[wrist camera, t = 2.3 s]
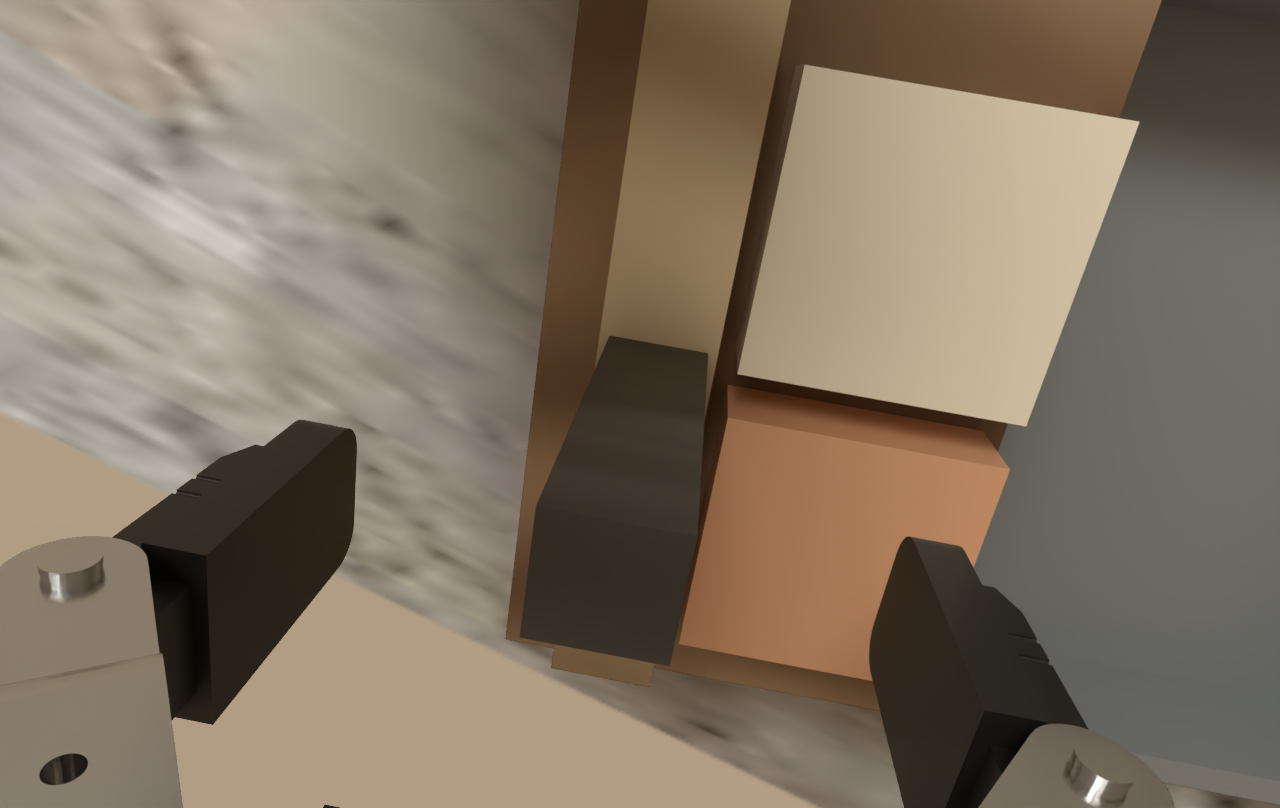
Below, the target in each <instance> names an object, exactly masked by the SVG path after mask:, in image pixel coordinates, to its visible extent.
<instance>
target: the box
mask: <svg viewBox="0 0 1280 808" xmlns="http://www.w3.org/2000/svg"><path fill="white" fill-rule="evenodd" d="M1119 118H1121V119H1127V120H1133V121H1139V125H1138V128H1137V130H1136V133H1135V136H1134V139H1133V141H1132V144H1131V147H1130V149H1129V152H1128V155H1127V157H1126V160H1125V163H1124V165H1123V168H1122V171H1121V173H1120V176H1119V179H1118V181H1117V184H1116V187H1115V190H1114V192H1113V195H1112V198H1111V200H1110V203H1109V206H1108V208H1107V211H1106V214H1105V216H1104V219H1103V222H1102V224H1101V227H1100V230H1099V232H1098V235H1097V238H1096V240H1095V243H1094V246H1093V249H1092V251H1091V254H1090V257H1089V259H1088V262H1087V265H1086V267H1085V270H1084V273H1083V275H1082V278H1081V281H1080V283H1079V286H1078V289H1077V291H1076V294H1075V297H1074V299H1073V302H1072V305H1071V308H1070V310H1069V313H1068V316H1067V318H1066V321H1065V324H1064V326H1063V329H1062V332H1061V334H1060V337H1059V340H1058V342H1057V345H1056V348H1055V350H1054V353H1053V356H1052V358H1051V361H1050V364H1049V367H1048V369H1047V372H1046V375H1045V377H1044V380H1043V383H1042V385H1041V388H1040V391H1039V393H1038V396H1037V399H1036V401H1035V404H1034V407H1033V409H1032V412H1031V415H1030V418H1029V420H1028V423H1027V426H1021V425H1015V424H1010V423H1008V425H1007V428H1006V431H1005V434H1004V436H1003V439H1002V442H1001V445H1000V447H999V450H998V453H999V455H1000V456H1001V457H1002V459H1003V460H1004V462H1005V463H1006V464H1007V466H1008V467H1009V469H1010V471H1009V474H1008V477H1007V479H1006V482H1005V485H1004V487H1003V490H1002V493H1001V495H1000V498H999V501H998V503H997V506H996V509H995V511H994V514H993V517H992V519H991V522H990V525H989V527H988V530H987V533H986V536H985V538H984V541H983V544H982V546H981V549H980V552H979V554H978V557H977V560H976V562H975V565H974V570H975V572H976V574H977V576H978V577H979V579H980V581H981V583H982V585H984V586H989V587H995V588H996V589H997V590H998V591H999V592H1000V593H1001V594H1003V595H1004V596H1005V597H1006V598H1007V599H1008V600H1009V601H1010V602H1011V603H1012V604H1014V605H1015V606H1016V607H1017V608H1018V609H1019V610H1020V611H1021V612H1022V613H1023V615H1024V616H1025V618H1026V620H1027V622H1028V623H1029V625H1030V627H1031V629H1032V630H1033V632H1034V634H1035V636H1036V637H1037V643H1039V644H1041V646H1042V648H1043V650H1044V652H1045V653H1046V655H1047V657H1048V659H1049V665H1052V666H1053V667H1054V669H1055V671H1056V673H1057V674H1058V676H1059V678H1060V680H1061V681H1062V683H1063V685H1064V687H1065V689H1066V690H1067V692H1068V694H1069V696H1070V697H1071V699H1072V701H1073V703H1074V704H1075V706H1076V708H1077V710H1078V711H1079V713H1080V715H1081V717H1082V719H1083V720H1084V722H1085V724H1086V726H1087V727H1088V729H1089V730H1091V731H1094V732H1096V733H1098V734H1101V735H1103V736H1105V737H1107V738H1109V739H1111V740H1113V741H1115V742H1117V743H1118V744H1120V745H1121V746H1123V747H1125V748H1126V749H1128V750H1129V751H1131V752H1132V753H1133V754H1135V755H1136V756H1137V757H1139V758H1140V759H1141V760H1142V761H1143V762H1145V763H1146V764H1147V765H1148V766H1149V767H1150V768H1151V769H1152V770H1153V771H1154V772H1155V773H1156V774H1157V775H1158V776H1159V778H1160V779H1161V780H1162V782H1163V783H1168V784H1174V785H1179V786H1184V787H1189V788H1194V789H1200V790H1205V791H1210V792H1215V793H1220V794H1226V795H1231V796H1236V797H1241V798H1246V799H1252V800H1257V801H1262V802H1267V803H1272V804H1278V805H1280V0H1162V1H1161V4H1160V7H1159V9H1158V12H1157V15H1156V18H1155V20H1154V23H1153V26H1152V29H1151V31H1150V34H1149V37H1148V40H1147V42H1146V45H1145V48H1144V51H1143V53H1142V56H1141V59H1140V62H1139V64H1138V67H1137V70H1136V73H1135V75H1134V78H1133V81H1132V84H1131V86H1130V89H1129V92H1128V95H1127V97H1126V100H1125V103H1124V106H1123V108H1122V111H1121V114H1120V117H1119Z"/></svg>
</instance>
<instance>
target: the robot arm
mask: <svg viewBox="0 0 1280 808" xmlns="http://www.w3.org/2000/svg"><path fill="white" fill-rule="evenodd" d="M356 455H357V442H356V436H355V434H354V432H353V430H351V429H348V428H343V427H337V426H332V425H327V424H322V423H316V422H311V421H306V420H298V421H296V422H294V423H293V424H292V425H290V426H289V427H288V428H287V429H285V430H284V431H283V432H282V433H280V434H279V435H278V436H276V437H275V438H274V439H273V440H271V441H270V442H269V443H267V444H266V445H265V446H259V445H254V446H251V447H248V448H245V449H243V450H240V451H237V452H234V453H231V454H229V455H226V456H223V457H221V458H219V459H218V460H217V461H215V462H214V463H212V464H211V465H210V466H208V467H207V468H206V469H204V470H203V471H202V472H200V473H199V474H198V475H197V477H196V479H191V480H189V481H188V482H187V483H185V484H184V485H183V486H181V487H180V488H179V489H177V493H176V494H170V495H169V496H168V497H166V498H165V499H164V500H163V501H161V502H160V503H158V504H157V505H156V506H154V507H153V508H151V509H150V510H149V511H148V512H146V513H145V514H143V515H142V516H141V517H139V518H138V519H137V520H135V521H134V522H133V523H131V524H130V525H128V526H127V527H126V528H124V529H123V530H122V531H120V532H119V533H118V534H116V535H115V536H114V537H112V538H111V537H99V536H88V537H87V536H86V537H75V538H67V539H61V540H57V541H53V542H49V543H45V544H42V545H39V546H36V547H33V548H31V549H28V550H26V551H24V552H21V553H20V554H18V555H16V556H14V557H12V558H11V559H9V560H8V561H6V562H5V563H4V564H2V565H1V567H0V808H183V804H182V796H181V789H180V782H179V774H178V766H177V759H176V751H175V743H174V735H173V728H172V720H173V718H174V717H177V718H182V719H187V720H192V721H198V722H202V723H207V724H212V725H213V724H214V723H215V721H216V720H217V719H218V717H219V716H220V715H221V714H222V713H223V711H224V710H225V709H226V708H227V706H228V705H229V704H230V703H231V701H232V700H233V699H234V698H235V696H236V695H237V694H238V692H239V691H240V690H241V689H242V687H243V686H244V685H245V684H246V683H247V681H248V680H249V679H250V678H251V676H252V675H253V674H254V673H255V671H256V670H257V669H258V668H259V666H260V665H261V664H262V663H263V661H264V660H265V659H266V658H267V656H268V655H269V654H270V652H271V651H272V650H273V649H274V648H275V646H276V645H277V644H278V643H279V641H280V640H281V639H282V638H283V636H284V635H285V634H286V633H287V631H288V630H289V629H290V628H291V626H292V625H293V624H294V623H295V621H296V620H297V619H298V618H299V616H300V615H301V614H302V613H303V611H304V610H305V609H306V608H307V606H308V605H309V604H310V603H311V601H312V600H313V599H314V598H315V596H316V595H317V594H318V592H319V591H320V590H321V589H322V587H323V586H324V585H325V584H326V582H327V581H328V580H329V579H330V578H331V576H332V575H333V574H334V573H335V571H336V570H337V569H338V568H339V566H340V565H341V563H342V562H343V560H344V558H345V556H346V553H347V551H348V548H349V545H350V542H351V538H352V533H353V527H354V508H355V481H356ZM869 666H870V672H871V676H872V680H873V684H874V688H875V692H876V696H877V700H878V704H879V708H880V712H881V716H882V720H883V724H884V728H885V732H886V736H887V740H888V744H889V748H890V752H891V756H892V760H893V764H894V768H895V772H896V776H897V780H898V784H899V788H900V792H901V796H902V800H903V804H904V808H1174V802H1173V800H1172V797H1171V794H1170V793H1169V791H1168V789H1167V787H1166V786H1165V784H1164V783H1163V782H1162V780H1161V779H1160V778H1159V776H1158V775H1157V774H1156V773H1155V772H1154V771H1153V770H1152V769H1151V768H1150V767H1149V766H1148V765H1147V764H1146V763H1145V762H1143V761H1142V760H1141V759H1140V758H1139V757H1137V756H1136V755H1135V754H1133V753H1132V752H1131V751H1129V750H1128V749H1126V748H1125V747H1123V746H1121V745H1120V744H1118V743H1117V742H1115V741H1113V740H1111V739H1109V738H1107V737H1105V736H1103V735H1101V734H1098V733H1096V732H1094V731H1091V730H1089V729H1088V727H1087V726H1086V724H1085V722H1084V720H1083V719H1082V717H1081V715H1080V713H1079V711H1078V710H1077V708H1076V706H1075V704H1074V703H1073V701H1072V699H1071V697H1070V696H1069V694H1068V692H1067V690H1066V689H1065V687H1064V685H1063V683H1062V681H1061V680H1060V678H1059V676H1058V674H1057V673H1056V671H1055V669H1054V667H1053V666H1052V665H1049V659H1048V657H1047V655H1046V653H1045V652H1044V650H1043V648H1042V646H1041V644H1039V643H1037V637H1036V636H1035V634H1034V632H1033V630H1032V629H1031V627H1030V625H1029V623H1028V622H1027V620H1026V618H1025V616H1024V615H1023V613H1022V612H1021V611H1020V610H1019V609H1018V608H1017V607H1016V606H1015V605H1014V604H1012V603H1011V602H1010V601H1009V600H1008V599H1007V598H1006V597H1005V596H1004V595H1003V594H1001V593H1000V592H999V591H998V590H997V589H996V588H995V587H989V586H984V585H982V583H981V581H980V579H979V577H978V576H977V574H976V572H975V570H974V568H973V566H972V564H971V562H970V560H969V558H968V556H967V554H966V552H965V551H964V549H963V548H962V547H961V546H957V545H952V544H947V543H942V542H936V541H931V540H926V539H921V538H915V537H910V536H908V537H906V538H904V540H903V541H902V542H901V544H900V546H899V548H898V551H897V554H896V557H895V560H894V563H893V566H892V569H891V572H890V575H889V578H888V581H887V584H886V588H885V591H884V594H883V597H882V600H881V603H880V606H879V609H878V612H877V615H876V618H875V621H874V625H873V628H872V633H871V638H870V646H869ZM323 808H339V807H334V806H329V805H324V807H323Z"/></svg>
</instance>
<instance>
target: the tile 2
mask: <svg viewBox="0 0 1280 808" xmlns="http://www.w3.org/2000/svg"><path fill="white" fill-rule="evenodd" d="M1138 125H1139V121H1133V120H1127V119H1121V118H1115V117H1109V116H1103V115H1097V114H1092V113H1086V112H1080V111H1074V110H1068V109H1062V108H1056V107H1051V106H1045V105H1039V104H1033V103H1027V102H1021V101H1015V100H1009V99H1004V98H998V97H992V96H986V95H980V94H974V93H968V92H963V91H957V90H951V89H945V88H939V87H933V86H927V85H921V84H916V83H910V82H904V81H898V80H892V79H886V78H880V77H874V76H869V75H863V74H857V73H851V72H845V71H839V70H833V69H828V68H822V67H816V66H810V65H796V67H795V71H794V76H793V81H792V85H791V90H790V95H789V99H788V104H787V109H786V114H785V118H784V123H783V128H782V132H781V137H780V142H779V146H778V151H777V156H776V160H775V165H774V170H773V174H772V179H771V184H770V188H769V193H768V198H767V202H766V207H765V212H764V216H763V221H762V226H761V230H760V235H759V240H758V245H757V249H756V254H755V259H754V263H753V268H752V273H751V277H750V282H749V287H748V291H747V296H746V301H745V305H744V310H743V315H742V319H741V324H740V329H739V333H738V338H737V343H736V353H737V374H739V375H745V376H750V377H756V378H761V379H767V380H772V381H778V382H783V383H789V384H794V385H800V386H806V387H811V388H817V389H822V390H828V391H833V392H839V393H844V394H850V395H855V396H861V397H866V398H872V399H877V400H883V401H888V402H894V403H899V404H905V405H910V406H916V407H921V408H927V409H932V410H938V411H943V412H949V413H954V414H960V415H965V416H971V417H976V418H982V419H988V420H993V421H999V422H1004V423H1010V424H1015V425H1021V426H1027V423H1028V420H1029V418H1030V415H1031V412H1032V409H1033V407H1034V404H1035V401H1036V399H1037V396H1038V393H1039V391H1040V388H1041V385H1042V383H1043V380H1044V377H1045V375H1046V372H1047V369H1048V367H1049V364H1050V361H1051V358H1052V356H1053V353H1054V350H1055V348H1056V345H1057V342H1058V340H1059V337H1060V334H1061V332H1062V329H1063V326H1064V324H1065V321H1066V318H1067V316H1068V313H1069V310H1070V308H1071V305H1072V302H1073V299H1074V297H1075V294H1076V291H1077V289H1078V286H1079V283H1080V281H1081V278H1082V275H1083V273H1084V270H1085V267H1086V265H1087V262H1088V259H1089V257H1090V254H1091V251H1092V249H1093V246H1094V243H1095V240H1096V238H1097V235H1098V232H1099V230H1100V227H1101V224H1102V222H1103V219H1104V216H1105V214H1106V211H1107V208H1108V206H1109V203H1110V200H1111V198H1112V195H1113V192H1114V190H1115V187H1116V184H1117V181H1118V179H1119V176H1120V173H1121V171H1122V168H1123V165H1124V163H1125V160H1126V157H1127V155H1128V152H1129V149H1130V147H1131V144H1132V141H1133V139H1134V136H1135V133H1136V130H1137V128H1138Z"/></svg>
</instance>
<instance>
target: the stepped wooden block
mask: <svg viewBox="0 0 1280 808" xmlns="http://www.w3.org/2000/svg"><path fill="white" fill-rule="evenodd" d="M1161 1H1162V0H791V3H790V8H789V13H788V18H787V23H786V27H785V32H784V37H783V42H782V47H781V52H780V57H779V61H778V66H777V71H776V76H775V81H774V86H773V91H772V95H771V100H770V105H769V110H768V115H767V120H766V125H765V129H764V134H763V139H762V144H761V149H760V154H759V159H758V163H757V168H756V173H755V178H754V183H753V188H752V193H751V197H750V202H749V207H748V212H747V217H746V222H745V227H744V231H743V236H742V241H741V246H740V251H739V256H738V261H737V265H736V270H735V275H734V280H733V285H732V290H731V295H730V299H729V304H728V309H727V314H726V319H725V324H724V329H723V333H722V338H721V343H720V348H719V353H718V358H717V363H716V367H715V372H714V377H713V382H712V387H711V392H710V397H709V401H708V406H707V411H706V416H705V421H704V435H703V453H702V470H701V488H700V505H699V516H700V511H701V507H702V502H703V497H704V492H705V488H706V483H707V478H708V474H709V469H710V464H711V460H712V455H713V450H714V446H715V441H716V436H717V432H718V427H719V422H720V418H721V413H722V408H723V404H724V399H725V394H726V390H727V385H733V386H738V387H744V388H749V389H755V390H760V391H766V392H771V393H777V394H782V395H788V396H793V397H799V398H804V399H810V400H815V401H821V402H826V403H832V404H837V405H843V406H848V407H854V408H859V409H865V410H870V411H876V412H881V413H887V414H892V415H898V416H903V417H909V418H914V419H920V420H925V421H931V422H936V423H942V424H947V425H953V426H958V427H964V428H969V429H975V430H980V431H983V432H984V434H985V435H986V436H987V438H988V439H989V441H990V442H991V443H992V445H993V446H994V448H995V449H996V450H997V452H998V450H999V447H1000V445H1001V442H1002V439H1003V436H1004V434H1005V431H1006V428H1007V425H1008V423H1004V422H999V421H993V420H988V419H982V418H976V417H971V416H965V415H960V414H954V413H949V412H943V411H938V410H932V409H927V408H921V407H916V406H910V405H905V404H899V403H894V402H888V401H883V400H877V399H872V398H866V397H861V396H855V395H850V394H844V393H839V392H833V391H828V390H822V389H817V388H811V387H806V386H800V385H794V384H789V383H783V382H778V381H772V380H767V379H761V378H756V377H750V376H745V375H739V374H737V353H736V343H737V338H738V333H739V329H740V324H741V319H742V315H743V310H744V305H745V301H746V296H747V291H748V287H749V282H750V277H751V273H752V268H753V263H754V259H755V254H756V249H757V245H758V240H759V235H760V230H761V226H762V221H763V216H764V212H765V207H766V202H767V198H768V193H769V188H770V184H771V179H772V174H773V170H774V165H775V160H776V156H777V151H778V146H779V142H780V137H781V132H782V128H783V123H784V118H785V114H786V109H787V104H788V99H789V95H790V90H791V85H792V81H793V76H794V71H795V67H796V65H810V66H816V67H822V68H828V69H833V70H839V71H845V72H851V73H857V74H863V75H869V76H874V77H880V78H886V79H892V80H898V81H904V82H910V83H916V84H921V85H927V86H933V87H939V88H945V89H951V90H957V91H963V92H968V93H974V94H980V95H986V96H992V97H998V98H1004V99H1009V100H1015V101H1021V102H1027V103H1033V104H1039V105H1045V106H1051V107H1056V108H1062V109H1068V110H1074V111H1080V112H1086V113H1092V114H1097V115H1103V116H1109V117H1115V118H1119V117H1120V114H1121V111H1122V108H1123V106H1124V103H1125V100H1126V97H1127V95H1128V92H1129V89H1130V86H1131V84H1132V81H1133V78H1134V75H1135V73H1136V70H1137V67H1138V64H1139V62H1140V59H1141V56H1142V53H1143V51H1144V48H1145V45H1146V42H1147V40H1148V37H1149V34H1150V31H1151V29H1152V26H1153V23H1154V20H1155V18H1156V15H1157V12H1158V9H1159V7H1160V4H1161ZM647 5H648V0H580V3H579V12H578V21H577V29H576V38H575V46H574V55H573V64H572V72H571V81H570V89H569V98H568V106H567V115H566V124H565V132H564V141H563V149H562V158H561V167H560V175H559V184H558V192H557V201H556V210H555V218H554V227H553V235H552V244H551V253H550V261H549V270H548V278H547V287H546V296H545V304H544V313H543V321H542V330H541V339H540V347H539V356H538V364H537V373H536V382H535V390H534V399H533V407H532V416H531V425H530V433H529V442H528V450H527V459H526V468H525V476H524V485H523V493H522V502H521V511H520V519H519V528H518V536H517V545H516V554H515V562H514V571H513V579H512V588H511V597H510V605H509V614H508V622H507V631H506V639H507V640H512V641H517V642H522V643H528V644H533V645H538V646H543V647H549V648H554V645H555V644H550V643H545V642H540V641H534V640H529V639H524V638H520V630H521V622H522V614H523V606H524V598H525V590H526V582H527V574H528V565H529V557H530V549H531V541H532V533H533V525H534V517H535V509H536V505H537V502H538V500H539V498H540V495H541V493H542V491H543V488H544V486H545V484H546V481H547V479H548V477H549V475H550V472H551V470H552V468H553V465H554V463H555V461H556V458H557V456H558V454H559V451H560V449H561V447H562V444H563V442H564V440H565V437H566V435H567V433H568V431H569V428H570V426H571V424H572V421H573V419H574V417H575V414H576V412H577V410H578V407H579V405H580V403H581V400H582V398H583V396H584V394H585V391H586V389H587V387H588V384H589V382H590V380H591V377H592V375H593V373H594V370H595V363H596V356H597V349H598V343H599V336H600V329H601V322H602V315H603V308H604V301H605V294H606V287H607V281H608V274H609V267H610V260H611V253H612V246H613V239H614V232H615V226H616V219H617V212H618V205H619V198H620V191H621V184H622V177H623V170H624V164H625V157H626V150H627V143H628V136H629V129H630V122H631V115H632V109H633V102H634V95H635V88H636V81H637V74H638V67H639V60H640V53H641V47H642V40H643V33H644V26H645V19H646V12H647ZM680 621H681V616H680ZM680 621H679V626H678V630H677V635H676V640H675V644H674V649H673V654H672V658H671V663H670V666H665V665H660V664H654V668H658V669H663V670H668V671H674V672H679V673H684V674H689V675H695V676H700V677H705V678H710V679H715V680H721V681H726V682H731V683H736V684H741V685H747V686H752V687H757V688H762V689H768V690H773V691H778V692H783V693H788V694H794V695H799V696H804V697H809V698H814V699H820V700H825V701H830V702H835V703H840V704H846V705H851V706H856V707H861V708H867V709H872V710H877V711H880V708H879V704H878V700H877V696H876V692H875V688H874V684H873V681H869V680H864V679H859V678H854V677H848V676H843V675H838V674H833V673H828V672H822V671H817V670H812V669H807V668H801V667H796V666H791V665H786V664H780V663H775V662H770V661H765V660H759V659H754V658H749V657H744V656H738V655H733V654H728V653H723V652H717V651H712V650H707V649H702V648H697V647H691V646H686V645H681V644H679V634H680Z"/></svg>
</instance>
